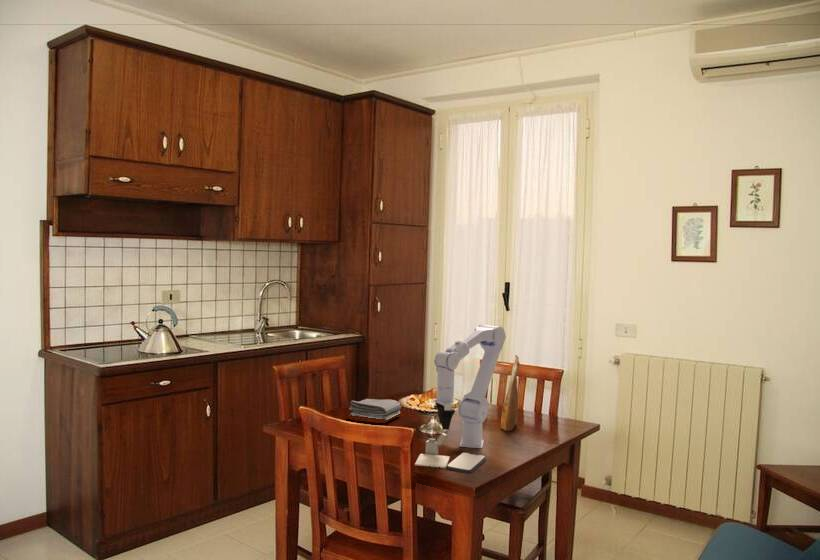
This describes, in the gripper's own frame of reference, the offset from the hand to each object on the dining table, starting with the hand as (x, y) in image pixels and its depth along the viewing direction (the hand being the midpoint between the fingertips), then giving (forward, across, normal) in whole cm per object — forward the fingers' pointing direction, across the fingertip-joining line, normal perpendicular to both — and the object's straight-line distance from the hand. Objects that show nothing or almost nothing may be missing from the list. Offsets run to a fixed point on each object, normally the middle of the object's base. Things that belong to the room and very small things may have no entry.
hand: (444, 426), depth 218 cm
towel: (+10, -46, -23) cm, 52 cm away
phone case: (+10, +11, +6) cm, 16 cm away
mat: (+9, +8, -5) cm, 13 cm away
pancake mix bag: (+10, -36, +32) cm, 49 cm away
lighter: (+10, +2, -3) cm, 10 cm away
